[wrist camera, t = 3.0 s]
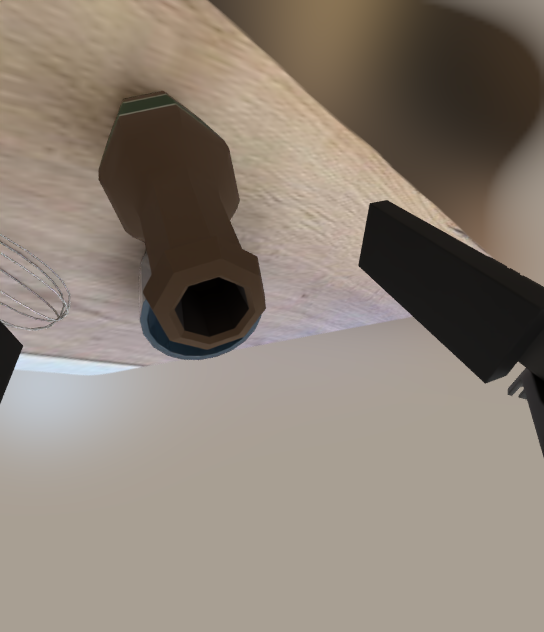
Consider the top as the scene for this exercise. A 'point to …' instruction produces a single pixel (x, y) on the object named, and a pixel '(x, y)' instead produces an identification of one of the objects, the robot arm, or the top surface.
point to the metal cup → (159, 337)
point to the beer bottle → (182, 220)
